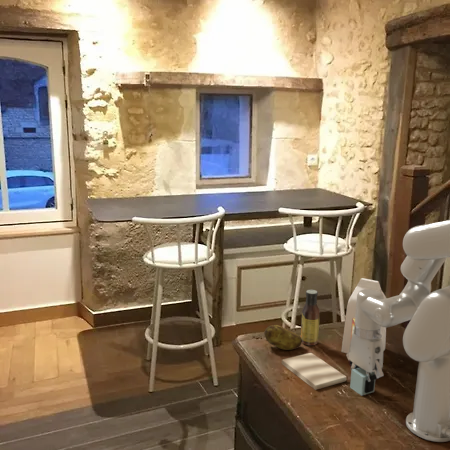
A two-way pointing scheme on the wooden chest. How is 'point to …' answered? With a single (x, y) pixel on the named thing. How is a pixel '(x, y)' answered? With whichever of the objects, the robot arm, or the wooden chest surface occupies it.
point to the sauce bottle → (310, 319)
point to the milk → (352, 311)
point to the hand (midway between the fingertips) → (362, 386)
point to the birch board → (313, 371)
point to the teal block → (359, 380)
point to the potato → (282, 337)
